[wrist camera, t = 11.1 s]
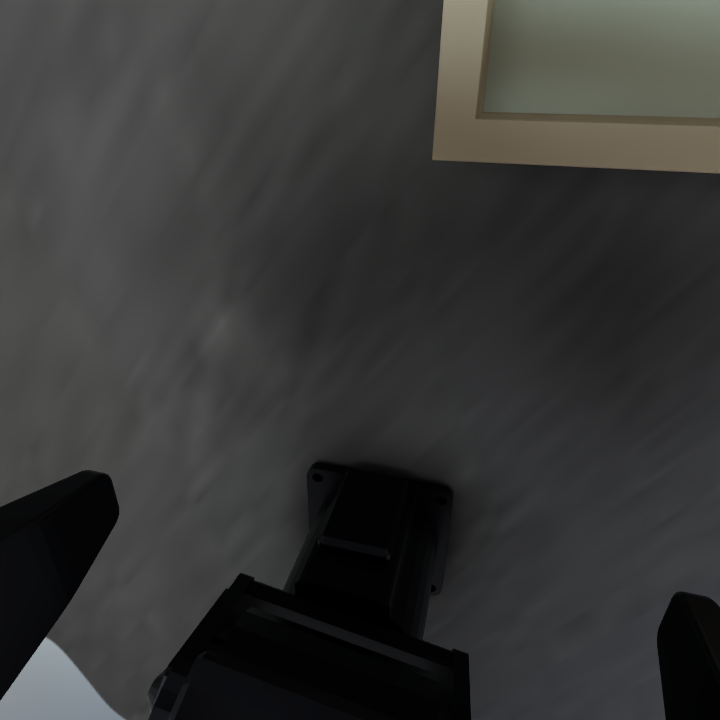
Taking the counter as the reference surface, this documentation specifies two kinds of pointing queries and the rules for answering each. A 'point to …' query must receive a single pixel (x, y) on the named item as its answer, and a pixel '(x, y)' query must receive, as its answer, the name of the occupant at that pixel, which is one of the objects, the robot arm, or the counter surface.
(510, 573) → the counter surface
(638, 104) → the box
